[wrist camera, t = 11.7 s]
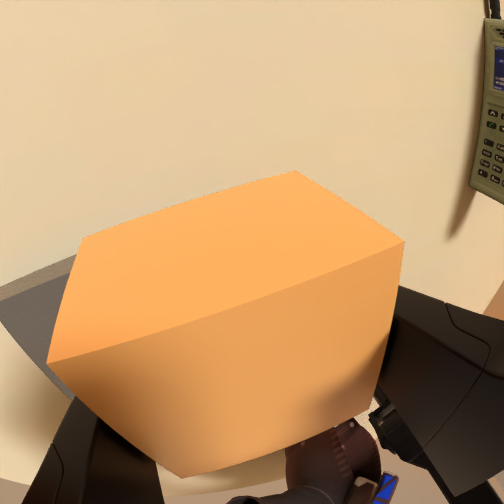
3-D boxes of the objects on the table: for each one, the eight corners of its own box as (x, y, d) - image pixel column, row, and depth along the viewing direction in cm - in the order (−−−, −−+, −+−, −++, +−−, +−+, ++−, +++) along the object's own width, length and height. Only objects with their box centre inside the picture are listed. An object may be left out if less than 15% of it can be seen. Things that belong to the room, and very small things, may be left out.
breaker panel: (283, 388, 30) (292, 404, 28) (131, 435, 27) (134, 452, 25) (241, 196, 18) (254, 210, 16) (-2, 288, 15) (-13, 308, 13)
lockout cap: (310, 322, 11) (369, 408, 7) (161, 374, 10) (181, 478, 6) (295, 170, 8) (404, 241, 4) (82, 238, 7) (45, 364, 3)
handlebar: (382, 420, 51) (429, 489, 35) (334, 453, 53) (374, 522, 36) (247, 364, 26) (344, 566, 10) (162, 426, 28) (211, 594, 11)
